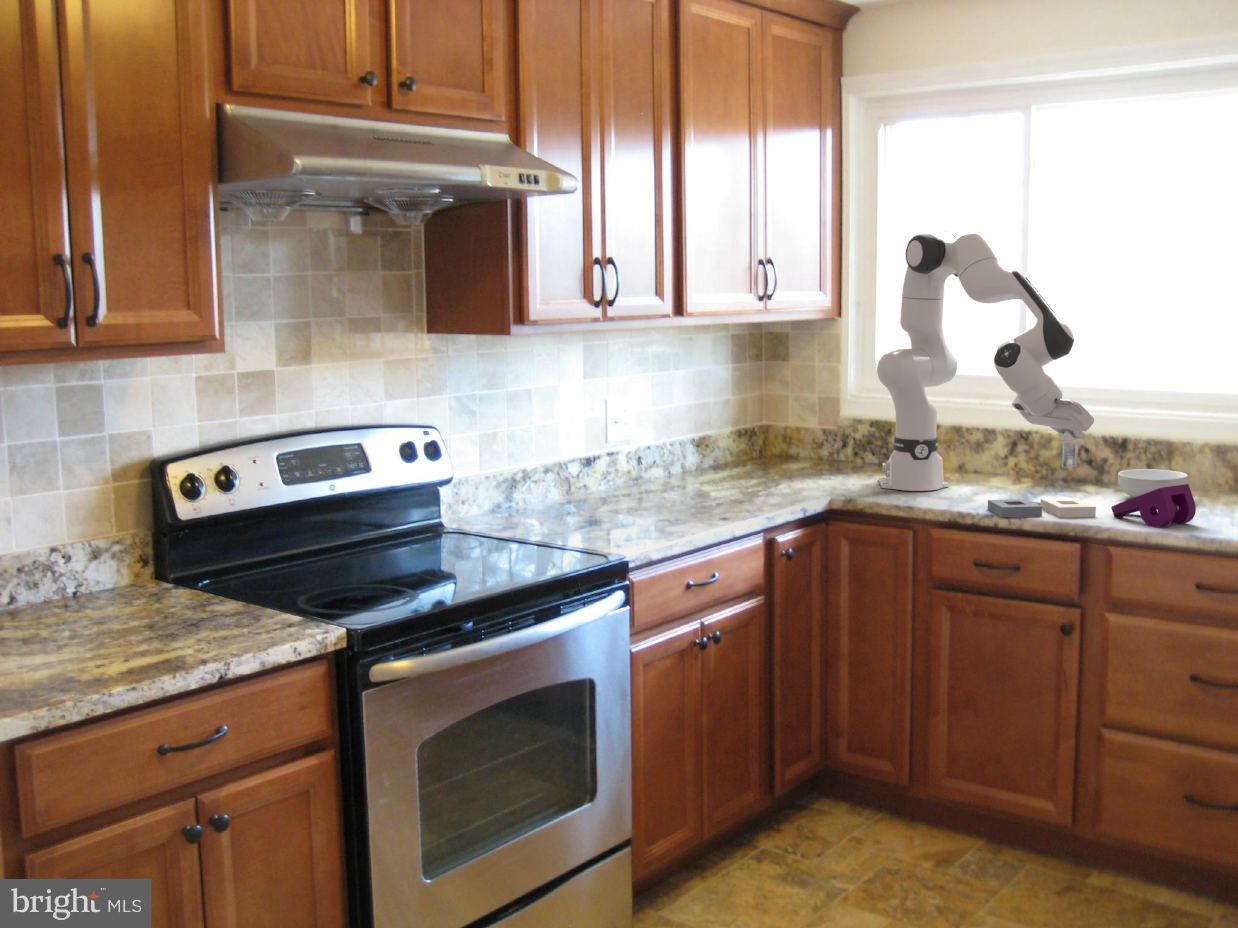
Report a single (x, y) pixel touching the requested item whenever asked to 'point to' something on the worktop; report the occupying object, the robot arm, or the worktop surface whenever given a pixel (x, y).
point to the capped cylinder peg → (1069, 449)
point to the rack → (1068, 507)
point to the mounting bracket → (1161, 506)
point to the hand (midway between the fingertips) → (1072, 435)
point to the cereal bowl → (1149, 480)
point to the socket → (1015, 508)
